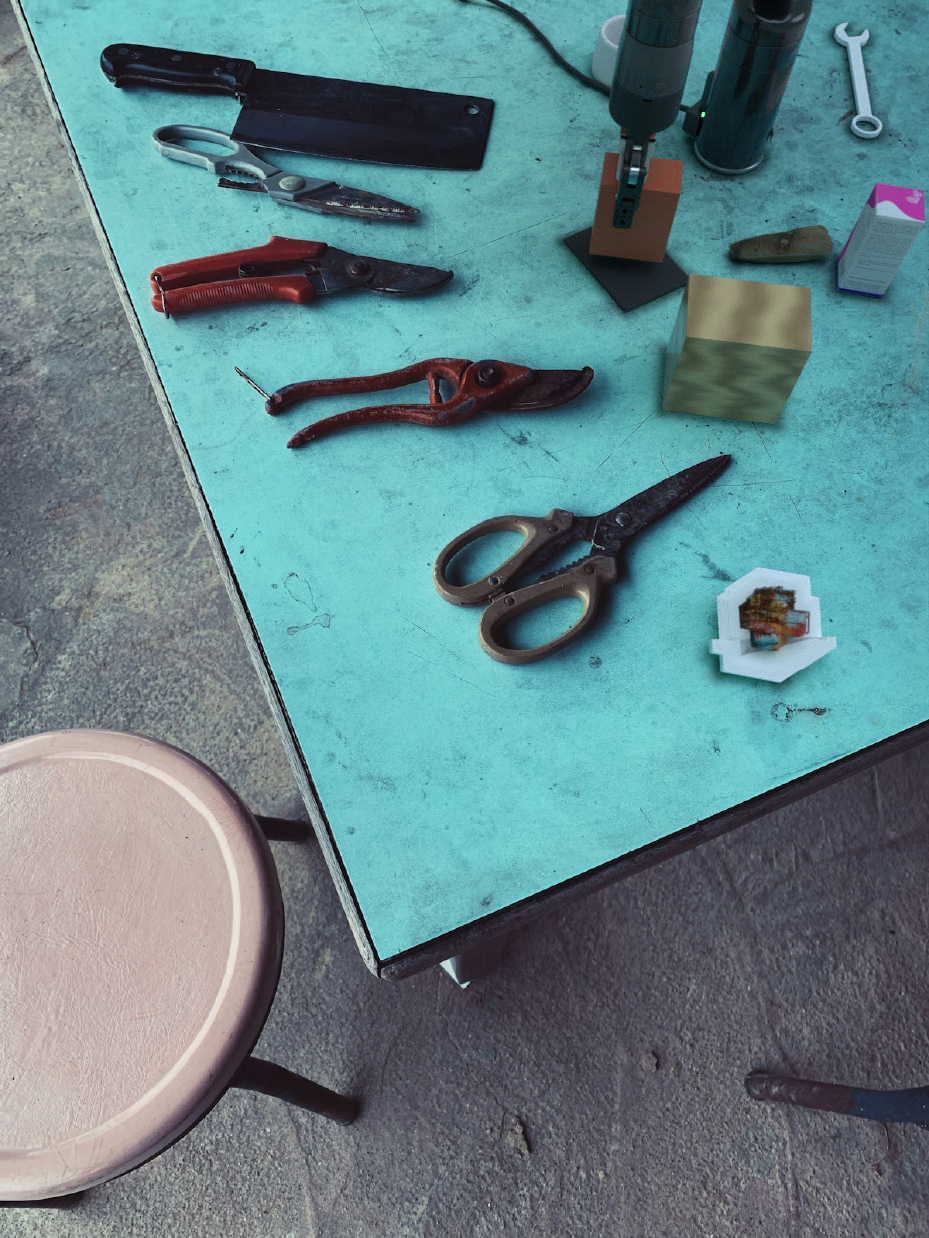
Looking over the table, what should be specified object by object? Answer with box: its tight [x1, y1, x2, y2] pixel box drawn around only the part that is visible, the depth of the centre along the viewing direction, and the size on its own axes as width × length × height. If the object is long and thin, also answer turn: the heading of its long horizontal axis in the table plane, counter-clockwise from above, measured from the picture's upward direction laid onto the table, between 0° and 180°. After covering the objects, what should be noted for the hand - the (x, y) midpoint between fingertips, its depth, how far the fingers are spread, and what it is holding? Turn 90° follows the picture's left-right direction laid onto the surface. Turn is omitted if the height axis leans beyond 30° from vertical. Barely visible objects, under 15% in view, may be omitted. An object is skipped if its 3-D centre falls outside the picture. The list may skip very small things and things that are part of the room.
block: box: [589, 151, 684, 263], centre depth 110 cm, size 11×6×9 cm
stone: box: [728, 224, 834, 263], centre depth 117 cm, size 13×5×2 cm, turn 100°
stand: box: [661, 273, 813, 425], centre depth 103 cm, size 13×9×12 cm
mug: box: [591, 13, 626, 88], centre depth 131 cm, size 12×10×6 cm
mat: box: [562, 225, 689, 314], centre depth 117 cm, size 14×10×1 cm
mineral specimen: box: [708, 566, 838, 683], centre depth 91 cm, size 12×12×7 cm
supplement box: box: [836, 182, 926, 299], centre depth 111 cm, size 6×6×12 cm
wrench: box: [833, 22, 883, 139], centre depth 133 cm, size 25×1×5 cm
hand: (623, 207), depth 110 cm, fingers closed on block, 5 cm apart
